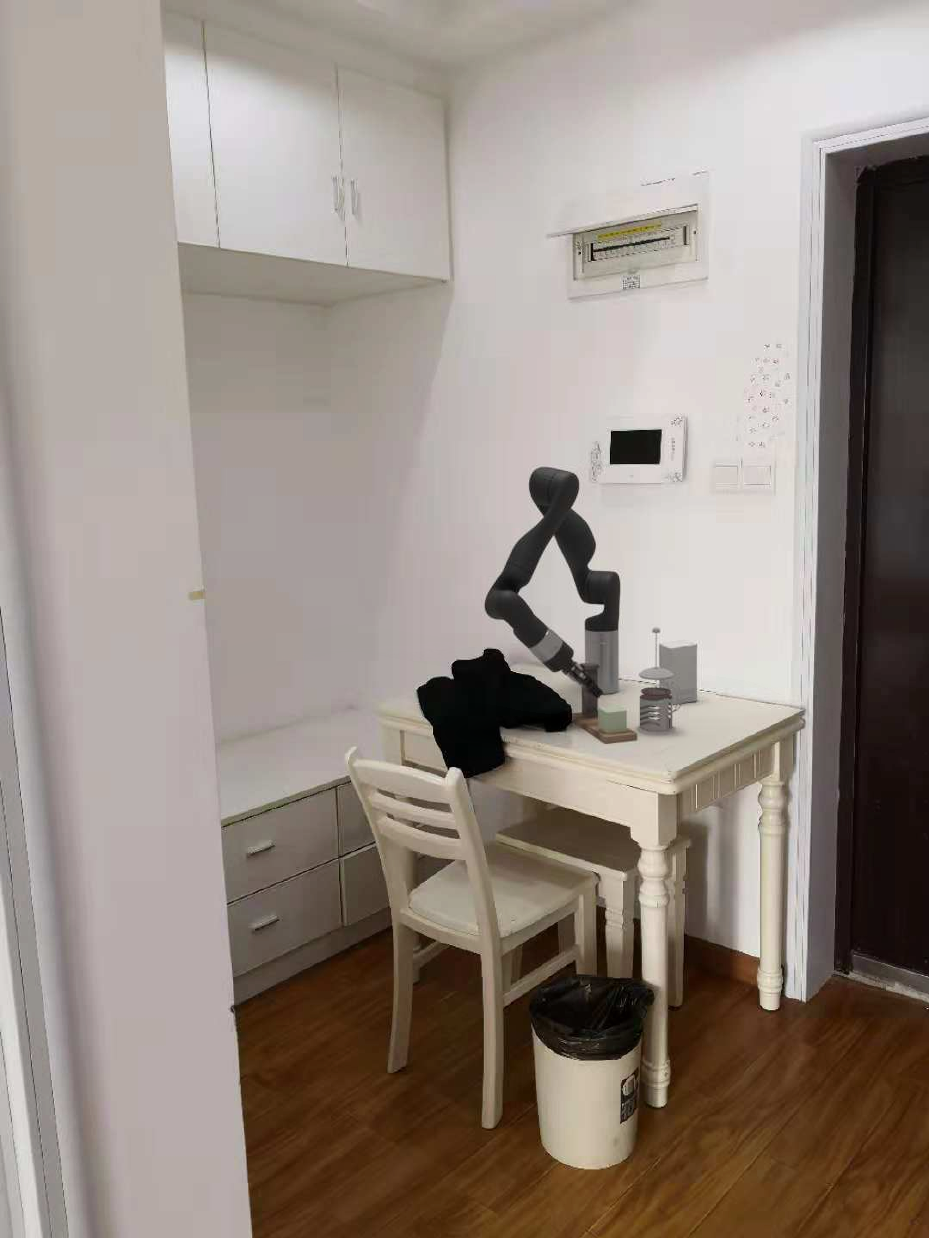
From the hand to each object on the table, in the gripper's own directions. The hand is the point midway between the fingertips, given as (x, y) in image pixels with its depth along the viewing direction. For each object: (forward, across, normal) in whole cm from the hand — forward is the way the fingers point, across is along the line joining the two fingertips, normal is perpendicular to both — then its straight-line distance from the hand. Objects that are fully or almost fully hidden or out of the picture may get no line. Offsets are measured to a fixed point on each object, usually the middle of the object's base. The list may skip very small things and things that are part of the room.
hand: (597, 693), depth 258 cm
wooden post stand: (+3, -8, +6) cm, 11 cm away
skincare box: (+24, +10, -14) cm, 30 cm away
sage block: (+2, -14, +5) cm, 15 cm away
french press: (+12, -13, -2) cm, 18 cm away
